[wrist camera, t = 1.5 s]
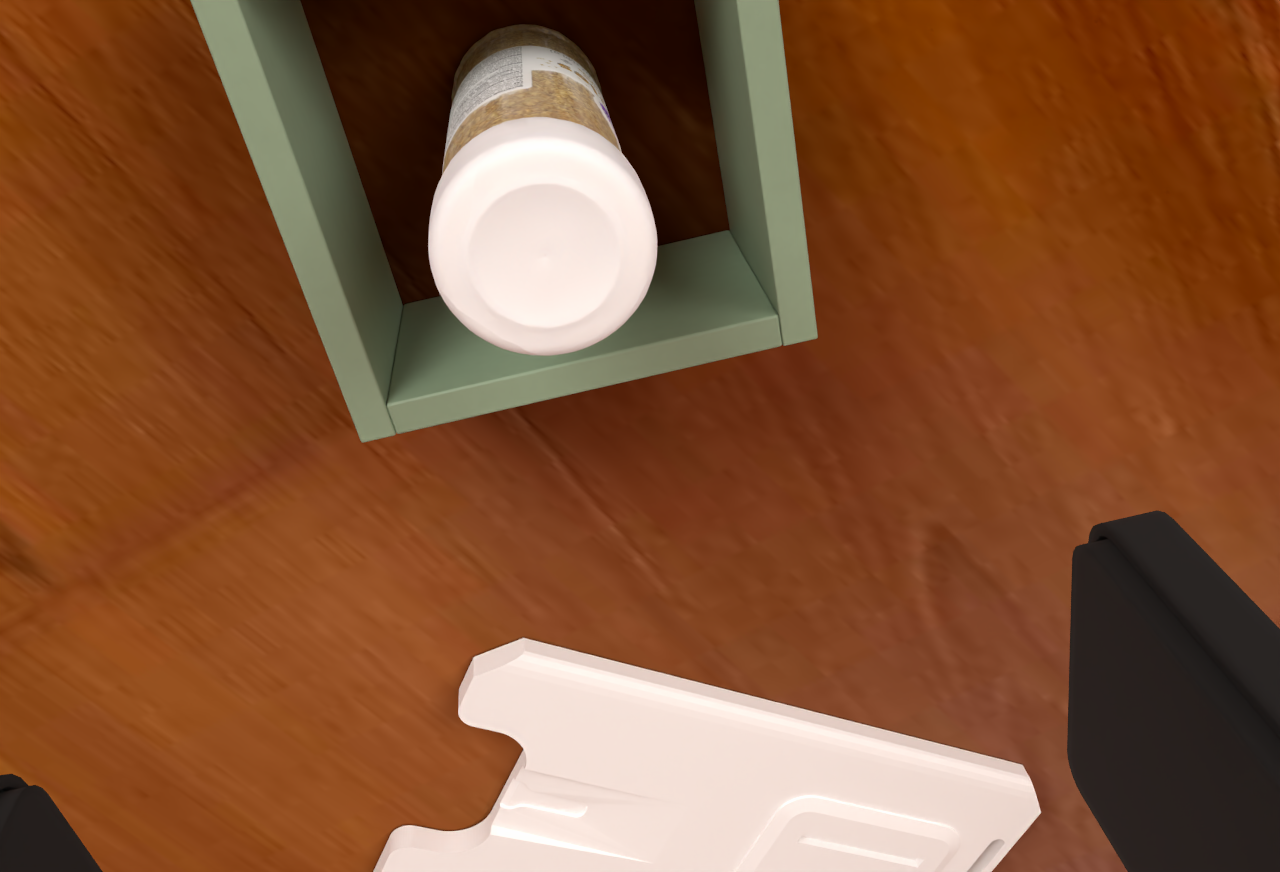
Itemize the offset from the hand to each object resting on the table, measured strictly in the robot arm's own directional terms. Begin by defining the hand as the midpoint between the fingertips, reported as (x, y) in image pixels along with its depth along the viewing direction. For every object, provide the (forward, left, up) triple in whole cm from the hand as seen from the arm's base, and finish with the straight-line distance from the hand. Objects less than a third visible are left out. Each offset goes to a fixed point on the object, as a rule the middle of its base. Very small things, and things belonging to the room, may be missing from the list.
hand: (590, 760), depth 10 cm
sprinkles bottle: (0, 0, -26) cm, 27 cm away
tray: (+3, +39, -26) cm, 47 cm away
